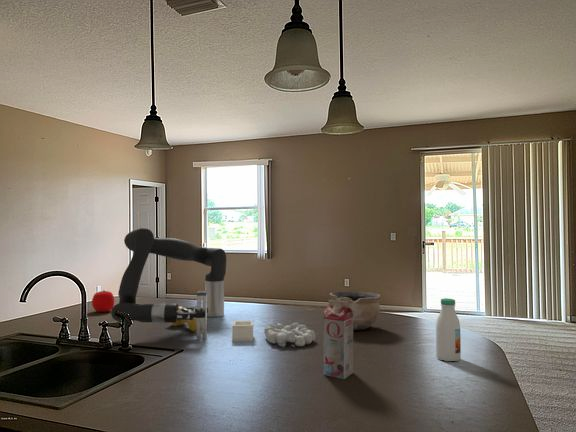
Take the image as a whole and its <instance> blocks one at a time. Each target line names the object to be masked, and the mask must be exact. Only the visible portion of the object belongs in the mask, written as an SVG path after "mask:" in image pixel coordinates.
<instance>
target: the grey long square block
mask: <svg viewBox="0 0 576 432" xmlns="http://www.w3.org/2000/svg"><path fill="white" fill-rule="evenodd" d="M196 306H197V312H205V318H197V331H196V340H206V339H207V337H208V335H207V334H208V333H207V330H208V327H207V326H208V323H207V322H208V316H207V291H205V290H203V291H201V290H198V291H197V292H196ZM201 327H202V330H201Z"/></svg>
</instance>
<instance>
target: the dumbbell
mask: <svg viewBox="0 0 576 432" xmlns="http://www.w3.org/2000/svg"><path fill="white" fill-rule="evenodd" d="M178 306H179V305H178ZM183 307H184V306H179V307H178V308H179V309H181V308H183ZM185 323H186V324H187V327H188V328H189V330H190V331H191V332H196V333H197V318H196V317H195V319H193V320H178V321H177V322H176V323H170V325H171V326H172V327H178V326H182V325H185ZM201 331H202V327H201Z"/></svg>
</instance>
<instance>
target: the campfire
mask: <svg viewBox="0 0 576 432" xmlns="http://www.w3.org/2000/svg"><path fill="white" fill-rule="evenodd" d="M264 335H265V339H266V340H267V342H269V343H272V344H279V345H284V344H286V343H293V344H294V346H295V347H296V346H297V347H305V345H310V344H311V343H312V342H313V341H315V339H316V333H315V331H314V330H312V329H309V328H308V327H307V325H305V324H300V323H298V322H294V323H292V324H290V325H284V324H282V323H279V322H278V323H277V324H274V323H271V324H269V325H268V326H266V327H265V328H264Z"/></svg>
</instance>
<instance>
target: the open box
mask: <svg viewBox="0 0 576 432" xmlns="http://www.w3.org/2000/svg"><path fill="white" fill-rule="evenodd" d="M231 329H232V332H231V335H232V336H231V341H232V342H253V341H254V320H234V321H233V322H232V325H231Z"/></svg>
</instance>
